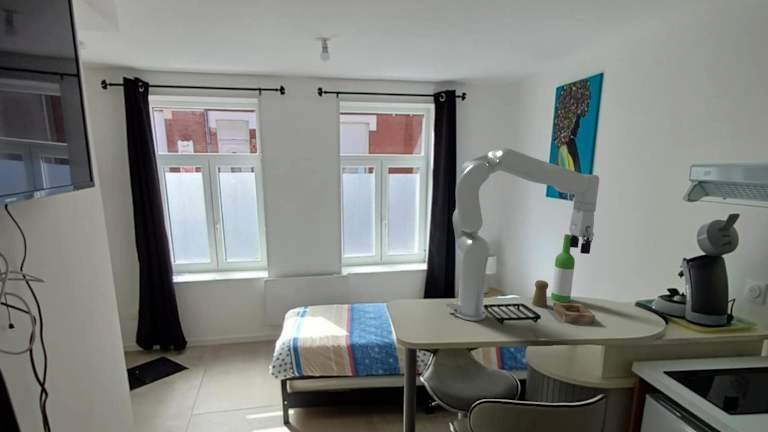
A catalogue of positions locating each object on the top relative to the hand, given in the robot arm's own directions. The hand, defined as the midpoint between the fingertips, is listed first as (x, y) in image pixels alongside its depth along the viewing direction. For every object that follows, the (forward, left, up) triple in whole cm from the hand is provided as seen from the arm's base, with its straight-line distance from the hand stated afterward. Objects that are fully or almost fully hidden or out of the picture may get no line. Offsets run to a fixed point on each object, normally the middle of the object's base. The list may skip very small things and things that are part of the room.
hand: (579, 250), depth 141 cm
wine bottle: (+3, +17, -27) cm, 33 cm away
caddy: (0, -2, -27) cm, 27 cm away
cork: (-9, +9, -27) cm, 30 cm away
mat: (-1, -2, -27) cm, 27 cm away
